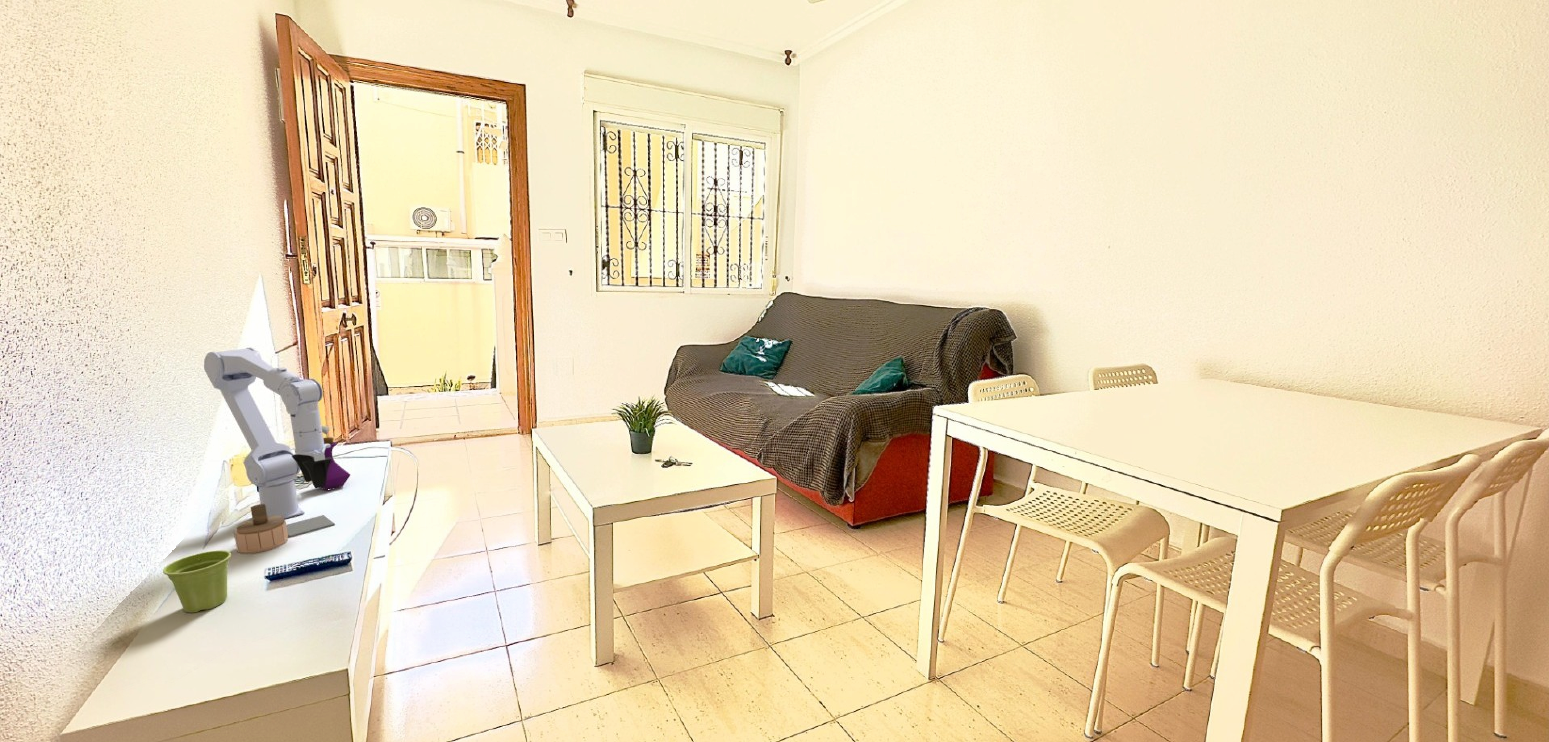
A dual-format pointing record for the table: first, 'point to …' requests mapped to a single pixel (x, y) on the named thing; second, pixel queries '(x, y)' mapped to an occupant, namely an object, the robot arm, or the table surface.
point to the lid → (260, 521)
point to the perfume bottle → (333, 465)
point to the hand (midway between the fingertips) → (315, 483)
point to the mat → (308, 525)
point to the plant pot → (200, 579)
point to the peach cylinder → (261, 540)
